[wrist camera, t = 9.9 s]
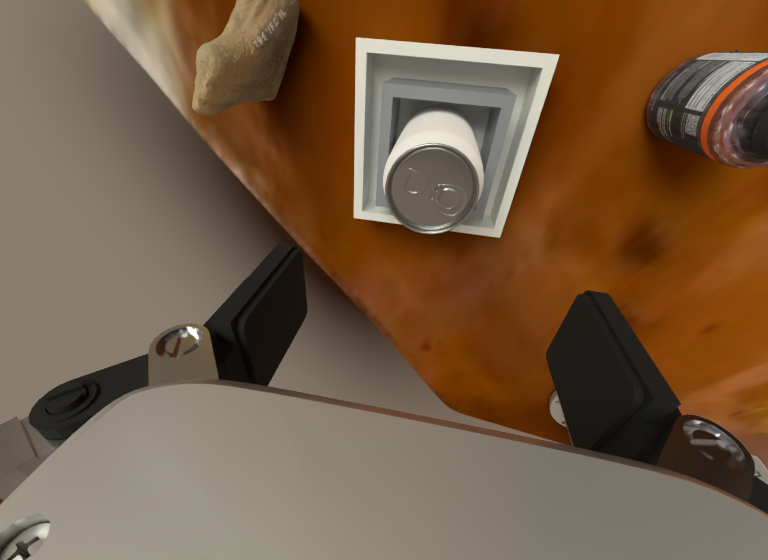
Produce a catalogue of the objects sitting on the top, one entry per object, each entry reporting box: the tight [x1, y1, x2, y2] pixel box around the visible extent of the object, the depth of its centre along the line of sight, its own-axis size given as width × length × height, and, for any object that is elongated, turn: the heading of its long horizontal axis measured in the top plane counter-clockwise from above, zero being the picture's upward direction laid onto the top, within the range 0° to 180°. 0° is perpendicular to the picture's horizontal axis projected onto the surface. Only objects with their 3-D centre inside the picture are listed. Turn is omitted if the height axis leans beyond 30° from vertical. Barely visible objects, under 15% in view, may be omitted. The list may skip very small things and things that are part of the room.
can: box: [383, 105, 484, 234], centre depth 24 cm, size 6×6×12 cm
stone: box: [192, 0, 300, 115], centre depth 23 cm, size 9×5×10 cm, turn 146°
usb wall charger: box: [751, 455, 768, 484], centre depth 48 cm, size 4×7×4 cm, turn 41°
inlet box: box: [354, 38, 559, 238], centre depth 27 cm, size 14×14×6 cm
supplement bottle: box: [646, 50, 768, 168], centre depth 20 cm, size 6×6×11 cm
